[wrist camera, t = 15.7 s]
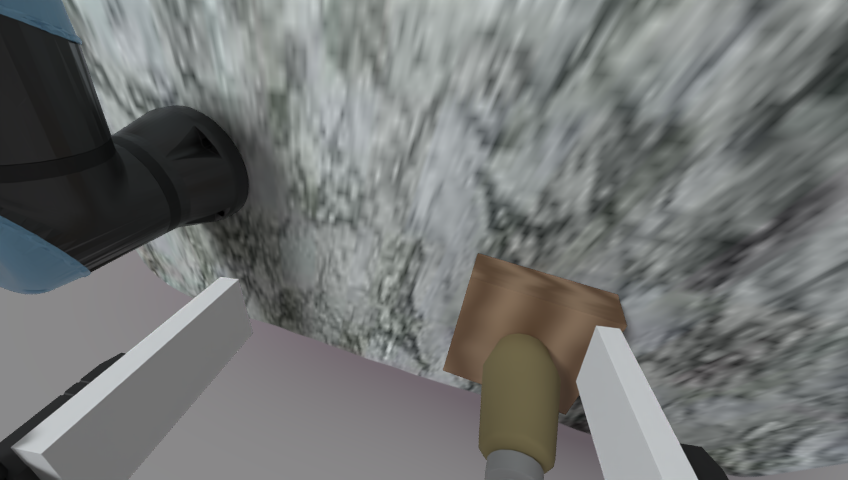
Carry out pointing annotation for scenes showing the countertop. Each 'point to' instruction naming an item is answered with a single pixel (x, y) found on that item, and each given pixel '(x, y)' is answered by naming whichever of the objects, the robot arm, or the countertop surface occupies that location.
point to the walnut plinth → (529, 319)
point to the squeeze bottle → (519, 409)
